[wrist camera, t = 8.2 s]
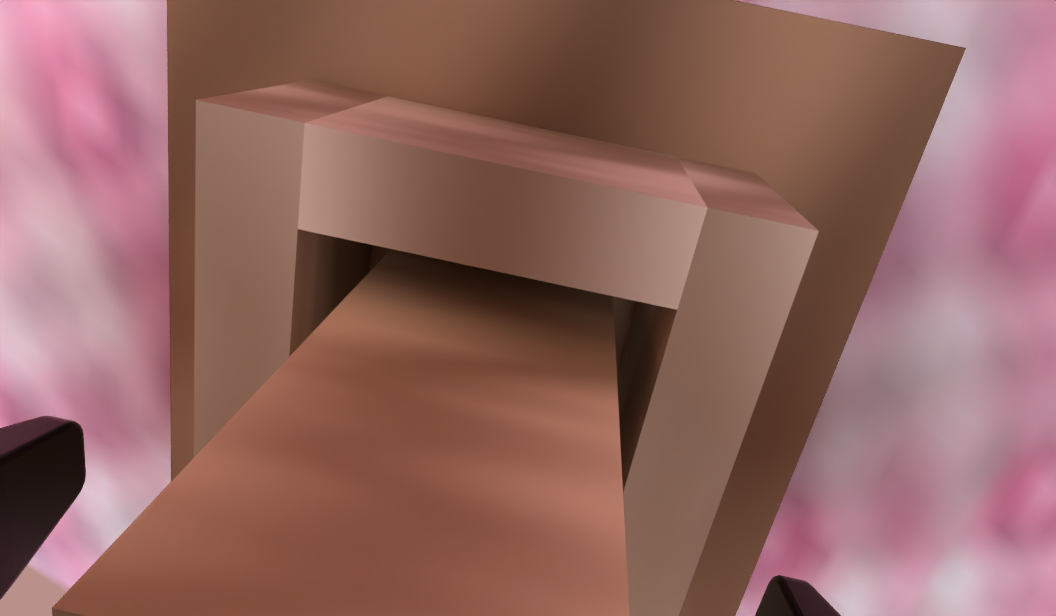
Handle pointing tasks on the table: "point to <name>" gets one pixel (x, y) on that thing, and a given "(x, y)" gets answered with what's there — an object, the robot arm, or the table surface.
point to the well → (557, 214)
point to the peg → (401, 467)
